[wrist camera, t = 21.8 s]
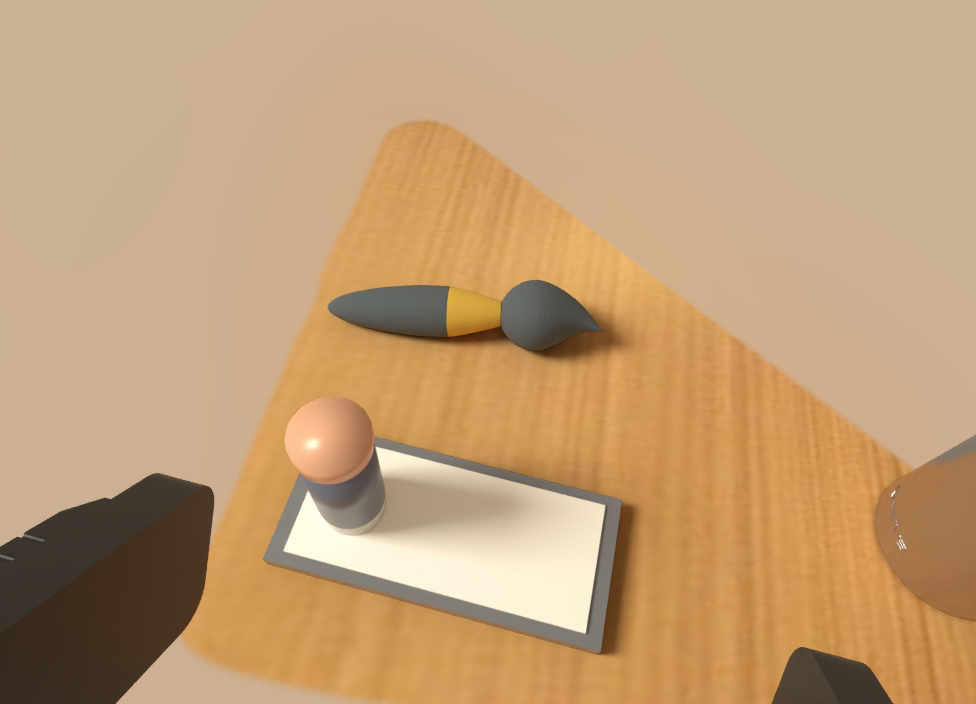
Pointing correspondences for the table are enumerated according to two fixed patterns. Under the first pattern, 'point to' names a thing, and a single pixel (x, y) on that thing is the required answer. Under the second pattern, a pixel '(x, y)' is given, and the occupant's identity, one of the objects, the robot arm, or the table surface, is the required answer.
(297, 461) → the peach capped blue cylinder
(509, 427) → the table surface
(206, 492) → the robot arm
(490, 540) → the whiteboard
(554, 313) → the paintbrush
